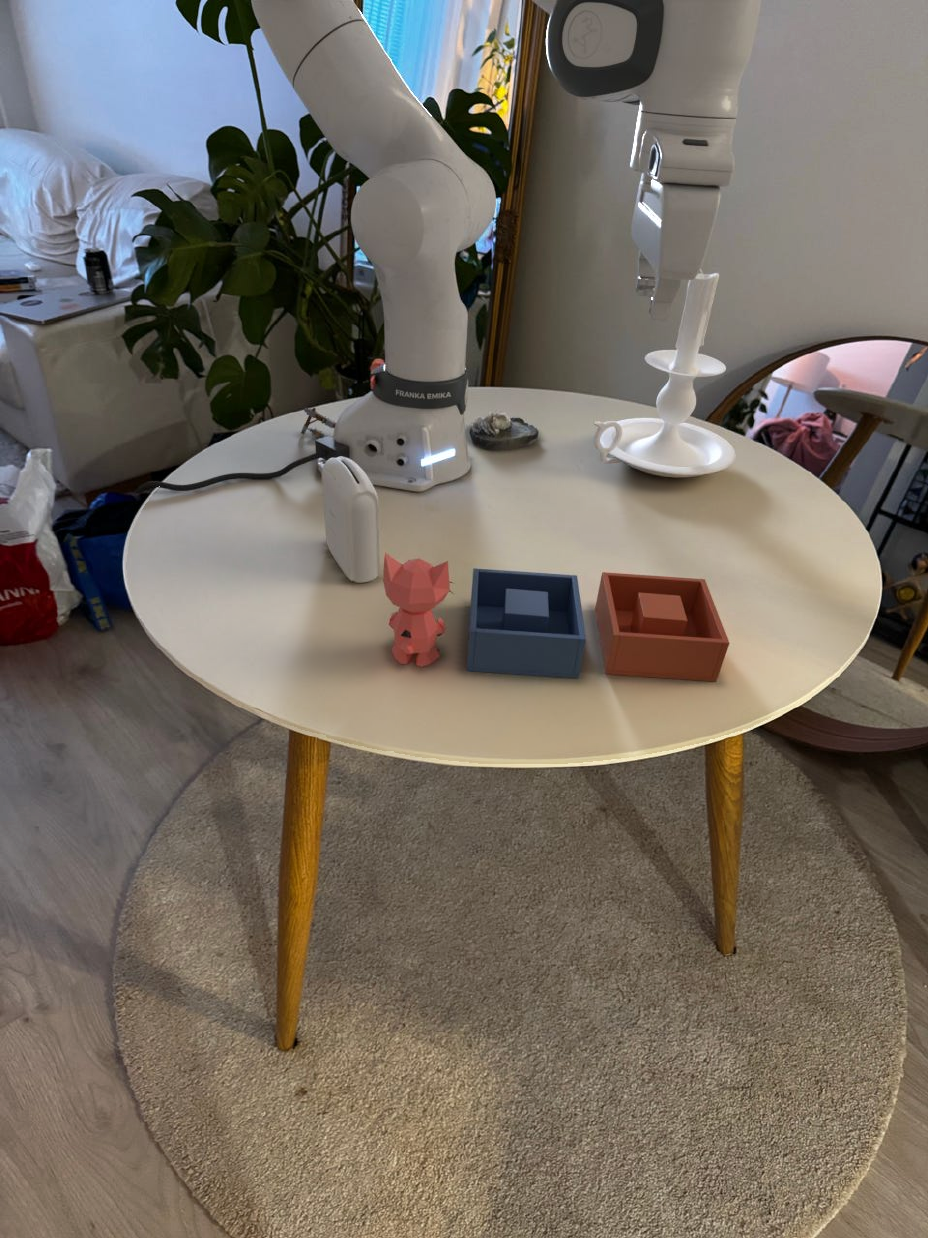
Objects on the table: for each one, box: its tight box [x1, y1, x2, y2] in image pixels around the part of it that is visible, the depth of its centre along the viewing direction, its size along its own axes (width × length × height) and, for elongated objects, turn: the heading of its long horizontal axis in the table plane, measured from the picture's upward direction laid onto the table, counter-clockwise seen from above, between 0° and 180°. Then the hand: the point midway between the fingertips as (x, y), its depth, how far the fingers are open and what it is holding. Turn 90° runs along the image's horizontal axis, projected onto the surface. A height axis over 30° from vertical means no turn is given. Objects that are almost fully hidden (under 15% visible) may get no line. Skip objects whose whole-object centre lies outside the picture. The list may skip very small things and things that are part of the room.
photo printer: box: [321, 456, 381, 583], centre depth 86 cm, size 10×4×12 cm, turn 26°
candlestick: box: [593, 268, 737, 478], centre depth 108 cm, size 21×25×28 cm
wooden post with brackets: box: [300, 407, 336, 439], centre depth 118 cm, size 2×8×4 cm, turn 86°
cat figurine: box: [382, 552, 456, 668], centre depth 73 cm, size 7×7×12 cm
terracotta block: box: [631, 593, 687, 636], centre depth 79 cm, size 4×4×4 cm
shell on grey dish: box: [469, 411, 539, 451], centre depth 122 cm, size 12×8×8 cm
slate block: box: [502, 589, 549, 633], centre depth 78 cm, size 4×4×4 cm
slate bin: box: [466, 567, 587, 679], centre depth 78 cm, size 11×11×5 cm
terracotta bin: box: [594, 571, 730, 683], centre depth 79 cm, size 11×11×5 cm
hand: (650, 306), depth 79 cm, fingers open, 8 cm apart
